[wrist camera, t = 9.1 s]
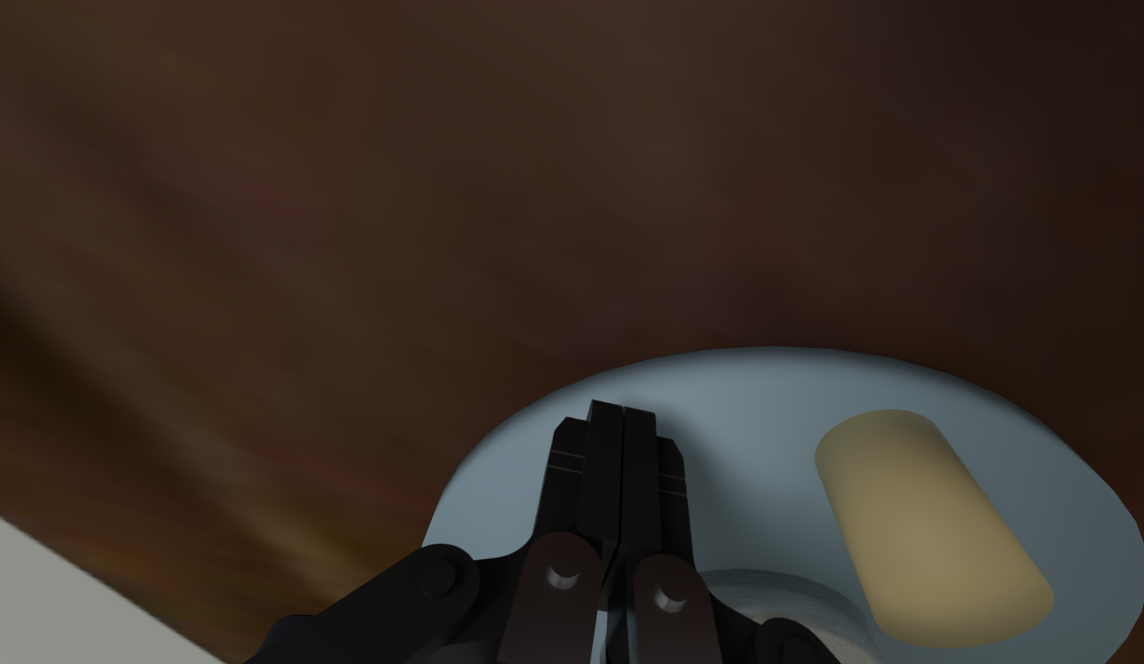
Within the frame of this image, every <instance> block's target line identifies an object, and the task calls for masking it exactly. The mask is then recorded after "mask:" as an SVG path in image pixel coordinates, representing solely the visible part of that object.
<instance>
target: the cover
mask: <svg viewBox="0 0 1144 664" xmlns="http://www.w3.org/2000/svg"><path fill="white" fill-rule="evenodd" d="M698 573H699V574H700V575H701V577H702V578H703V580H704V582H705V584H706V586H707V588H708V590H709V591H710V592H711V593H712V594H713V595H714V596H715V597H716V598H717V599H718V600H720V601H721V602H722V603H724V604H725V605H727V606H728V607H730V608H732V609H734V610H735V611H737V612H739V613H741V614H743V615H744V616H746V617H748V618H750V619H752V620H753V621H755V622H757V623H759V624H761V625H762V624H763V623H764V622H765V621H767V620H768V619H771V618H775V617H782V618H788V619H791V620H794V621H796V622H798V623H800V624H802V625H804V626H805V627H807V628H808V629H809V630H811V631H812V632H813V633H814V634H815V635H816V636H817V637H818V638H819V639H820V640H821V641H822V642H823V643H824V644H825V645H826V647H827V648H828V649H829V650H830V651H831V652H832V653H833V655H834V656H835V657H836V658H837V659H838V660H839V661H840V663H841V664H884V663H883V661H882V658H881V655H880V653H879V650H878V647H877V645H876V642H875V639H874V636H873V634H872V631H871V628H870V626H869V623H868V621H867V619H866V617H865V615H864V614H863V613H862V611H861V610H860V609H859V608H858V607H857V606H856V605H855V604H854V603H853V602H852V601H851V600H849V599H848V598H846V597H845V596H844V595H842V594H841V593H839V592H837V591H835V590H833V589H831V588H829V587H827V586H825V585H822V584H820V583H817V582H815V581H812V580H809V579H805V578H802V577H798V576H795V575H790V574H785V573H780V572H774V571H765V570H754V569H720V570H711V571H702V572H698Z"/></svg>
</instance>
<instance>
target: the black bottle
mask: <svg viewBox="0 0 1144 664" xmlns="http://www.w3.org/2000/svg"><path fill="white" fill-rule="evenodd" d="M311 618H313V616H295V615H293V616H289V617H285V618H281V619H280V620H279V621H277V622H276V623H275V624H273V626H272V628H271V630H270V631H269V633H268V635H267V636H266V638H265V640H264V641H263V643H262V645H261V647H260V648H259V650H258V652H257V653H256V654H258V653H259V652H261V651H262V650H264V649H265V648H267V647H269V646H270V645H272V644H273V643H275V642H276V641H278V640H279V639H281V638H282V637H284V636H285V635H287V634H288V633H290V632H292V631H293V630H295V629H296V628H298V627H299V626H301V625H302V624H304V623H305V622H307V621H308V620H310V619H311Z"/></svg>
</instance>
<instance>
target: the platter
mask: <svg viewBox="0 0 1144 664" xmlns="http://www.w3.org/2000/svg"><path fill="white" fill-rule="evenodd" d="M592 399H594V400H598V401H603V402H608V403H612V404H617V405H621V406H622V407H624V406H627V407H631V408H636V409H640V410H645V411H650V412H654V413H655V415H656V432H657V436H660V437H665V438H669V439H673V440H674V442H675V444H676V446H677V447H678V449H679V451H680V453H681V455H682V456H683V458H684V468H685V481H686V488H687V498H688V508H689V517H690V527H691V537H692V547H693V557H694V563H695V567H696V570H697V572H702V571H711V570H720V569H754V570H765V571H774V572H780V573H785V574H790V575H795V576H798V577H802V578H805V579H809V580H812V581H815V582H817V583H820V584H822V585H825V586H827V587H829V588H831V589H833V590H835V591H837V592H839V593H841V594H842V595H844V596H845V597H846V598H848V599H849V600H851V601H852V602H853V603H854V604H855V605H856V606H857V607H858V608H859V609H860V610H861V611H862V613H863V614H864V615H865V617H866V619H867V621H868V623H869V626H870V628H871V631H872V634H873V636H874V639H875V642H876V645H877V647H878V650H879V653H880V655H881V658H882V661H883V663H884V664H1105V663H1106V662H1107V661H1108V660H1109V658H1110V657H1111V656H1112V655H1113V654H1114V653H1115V651H1116V650H1117V649H1118V648H1119V647H1120V646H1121V645H1122V643H1123V642H1124V641H1125V640H1126V639H1127V637H1128V635H1129V633H1130V632H1131V630H1132V628H1133V626H1134V624H1135V623H1136V621H1137V619H1138V617H1139V615H1140V614H1141V611H1142V607H1143V604H1144V543H1143V540H1142V537H1141V534H1140V532H1139V529H1138V526H1137V523H1136V521H1135V520H1134V519H1133V517H1132V516H1131V514H1130V513H1129V512H1128V510H1127V509H1126V507H1125V506H1124V505H1123V503H1122V502H1121V500H1120V499H1119V497H1118V496H1117V495H1116V493H1115V492H1114V491H1113V490H1112V489H1111V488H1110V487H1109V486H1108V485H1107V484H1106V482H1105V481H1104V480H1103V479H1102V478H1101V477H1100V476H1099V475H1098V474H1097V473H1096V472H1095V471H1094V470H1093V469H1092V468H1091V467H1090V466H1089V465H1088V464H1087V463H1086V462H1085V461H1084V460H1083V459H1082V458H1081V457H1080V456H1079V455H1078V454H1077V453H1076V452H1075V451H1074V450H1073V449H1072V448H1071V447H1070V446H1069V445H1068V444H1067V443H1066V442H1064V441H1063V440H1062V439H1061V438H1060V437H1059V436H1058V435H1057V434H1056V433H1054V432H1053V431H1052V430H1051V429H1050V428H1049V427H1048V426H1047V425H1045V424H1044V423H1043V422H1042V421H1041V420H1040V419H1038V418H1037V417H1035V416H1033V415H1032V414H1030V413H1028V412H1027V411H1025V410H1023V409H1022V408H1020V407H1019V406H1017V405H1015V404H1014V403H1012V402H1010V401H1009V400H1007V399H1005V398H1004V397H1002V396H1001V395H999V394H997V393H994V392H992V391H989V390H987V389H985V388H982V387H980V386H978V385H975V384H973V383H970V382H968V381H966V380H963V379H961V378H959V377H956V376H954V375H952V374H949V373H945V372H942V371H938V370H934V369H931V368H927V367H924V366H920V365H916V364H913V363H909V362H906V361H902V360H898V359H895V358H889V357H883V356H876V355H870V354H863V353H857V352H850V351H844V350H838V349H827V348H805V347H784V346H760V347H742V348H725V349H709V350H703V351H696V352H690V353H684V354H678V355H671V356H665V357H659V358H653V359H649V360H645V361H642V362H638V363H634V364H631V365H627V366H623V367H620V368H616V369H612V370H609V371H605V372H601V373H598V374H596V375H593V376H591V377H588V378H586V379H583V380H581V381H578V382H576V383H573V384H571V385H568V386H566V387H563V388H561V389H558V390H556V391H554V392H552V393H550V394H548V395H546V396H545V397H543V398H541V399H539V400H537V401H536V402H534V403H532V404H530V405H528V406H527V407H525V408H523V409H521V410H519V411H518V412H516V413H514V414H513V415H512V416H510V417H509V418H508V419H507V420H505V421H504V422H503V423H501V424H500V425H499V426H497V427H496V428H495V429H493V430H492V431H491V432H489V433H488V434H487V435H485V436H484V437H483V438H482V440H481V441H480V442H479V443H478V444H477V445H476V446H475V447H474V448H473V449H472V450H471V451H470V452H469V453H468V454H467V455H466V456H465V457H464V459H463V460H462V461H461V462H460V464H459V465H458V467H457V469H456V470H455V472H454V473H453V475H452V476H451V478H450V479H449V481H448V482H447V484H446V486H445V488H444V491H443V493H442V496H441V498H440V501H439V503H438V506H437V508H436V511H435V513H434V516H433V518H432V521H431V523H430V526H429V529H428V531H427V534H426V537H425V539H424V542H423V544H422V547H424V546H427V545H431V544H440V543H443V544H450V545H454V546H457V547H459V548H461V549H463V550H464V551H466V552H467V553H468V554H469V555H470V556H471V557H472V558H473V560H479V559H488V558H496V557H501V556H505V555H508V554H511V553H513V552H515V551H517V550H518V549H519V548H521V547H522V546H523V545H524V544H525V543H526V542H527V541H528V540H529V538H530V537H531V536H532V532H533V527H534V522H535V517H536V513H537V508H538V503H539V498H540V493H541V488H542V483H543V478H544V473H545V469H546V464H547V460H548V456H549V451H550V447H551V443H552V439H553V434H554V430H555V429H556V428H557V427H558V426H559V424H560V423H561V422H562V421H563V420H564V419H565V417H566V416H567V417H572V418H577V419H581V420H586V418H587V414H588V411H589V407H590V404H591V401H592ZM606 630H607V612H603V611H599V610H598V612H597V619H596V627H595V634H594V641H593V648H592V655H591V662H590V664H600V649H601V645H602V642H603V640H604V638H605V635H606Z"/></svg>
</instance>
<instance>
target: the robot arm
mask: <svg viewBox="0 0 1144 664" xmlns="http://www.w3.org/2000/svg"><path fill="white" fill-rule="evenodd" d="M598 610H599V611H603V612H607V630H606V635H605V638H604V640H603V642H602V645H601V649H600V664H841V663H840V661H839V660H838V659H837V658H836V657H835V656H834V655H833V653H832V652H831V651H830V650H829V649H828V648H827V647H826V645H825V644H824V643H823V642H822V641H821V640H820V639H819V638H818V637H817V636H816V635H815V634H814V633H813V632H812V631H811V630H809V629H808V628H807V627H805V626H804V625H802V624H800V623H798V622H796V621H794V620H791V619H788V618H782V617H775V618H771V619H768V620H767V621H765V622H764V623H763V624H762V625H761V624H759V623H757V622H755V621H753V620H752V619H750V618H748V617H746V616H744V615H743V614H741V613H739V612H737V611H735V610H734V609H732V608H730V607H728V606H727V605H725V604H724V603H722V602H721V601H720V600H718V599H717V598H716V597H715V596H714V595H713V594H712V593H711V592H710V591H709V590H708V588H707V586H706V584H705V582H704V580H703V578H702V577H701V575H700V574H699V573H698V572H697V570H696V567H695V563H694V557H693V547H692V537H691V527H690V517H689V508H688V498H687V488H686V481H685V468H684V458H683V456H682V455H681V453H680V451H679V449H678V447H677V446H676V444H675V442H674V440H673V439H669V438H665V437H660V436H657V432H656V415H655V413H654V412H650V411H645V410H640V409H636V408H631V407H627V406H624V407H622V406H621V405H617V404H612V403H608V402H603V401H598V400H594V399H592V401H591V404H590V407H589V411H588V414H587V418H586V420H581V419H577V418H572V417H567V416H566V417H565V419H564V420H563V421H562V422H561V423H560V424H559V426H558V427H557V428H556V429H555V430H554V434H553V439H552V443H551V447H550V451H549V456H548V460H547V464H546V469H545V473H544V478H543V483H542V488H541V493H540V498H539V503H538V508H537V513H536V517H535V522H534V527H533V532H532V536H531V537H530V538H529V540H528V541H527V542H526V543H525V544H524V545H523V546H522V547H521V548H519V549H518V550H517V551H515V552H513V553H511V554H508V555H505V556H501V557H496V558H488V559H479V560H473V558H472V557H471V556H470V555H469V554H468V553H467V552H466V551H464V550H463V549H461V548H459V547H457V546H454V545H450V544H443V543H440V544H431V545H427V546H424V547H422V548H420V549H418V550H416V551H414V552H413V553H411V554H410V555H408V556H406V557H405V558H403V559H402V560H400V561H399V562H397V563H396V564H394V565H393V566H391V567H390V568H388V569H387V570H385V571H384V572H382V573H380V574H379V575H377V576H376V577H374V578H373V579H371V580H370V581H368V582H367V583H365V584H364V585H362V586H361V587H359V588H357V589H356V590H354V591H353V592H351V593H350V594H348V595H347V596H345V597H344V598H342V599H341V600H339V601H338V602H336V603H334V604H333V605H331V606H330V607H328V608H327V609H325V610H324V611H322V612H321V613H319V614H318V615H316V616H315V617H313V618H311V619H310V620H308V621H307V622H305V623H304V624H302V625H301V626H299V627H298V628H296V629H295V630H293V631H292V632H290V633H288V634H287V635H285V636H284V637H282V638H281V639H279V640H278V641H276V642H275V643H273V644H272V645H270V646H269V647H267V648H265V649H264V650H262V651H261V652H259V653H258V654H256V655H255V656H253V657H252V658H250V659H249V660H247V661H246V662H244V663H243V664H590V662H591V655H592V648H593V641H594V634H595V627H596V619H597V612H598Z"/></svg>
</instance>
